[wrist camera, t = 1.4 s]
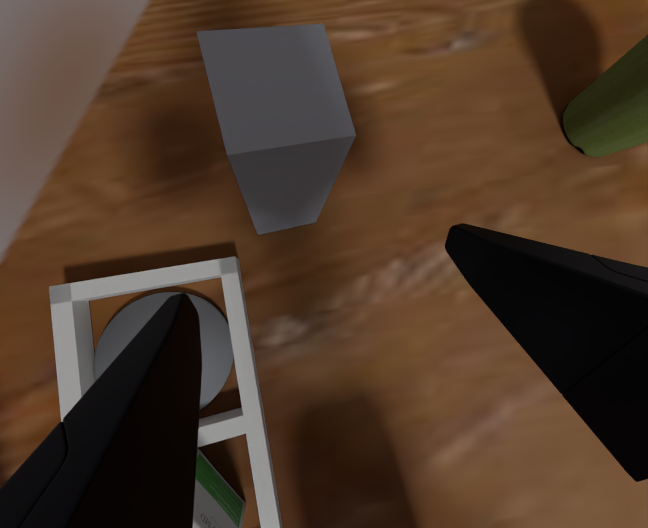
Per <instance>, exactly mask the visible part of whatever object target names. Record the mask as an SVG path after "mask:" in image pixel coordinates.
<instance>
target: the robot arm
mask: <svg viewBox="0 0 648 528" xmlns="http://www.w3.org/2000/svg"><path fill="white" fill-rule="evenodd" d="M445 249H446V251H447V253H448V254H449V256H450V257H451V259H452V260H453V262H454V263H455V265H456V266H457V268H458V269H459V270H460V272H461V273H462V275H463V276H464V278H465V279H466V281H467V282H468V283H469V285H470V286H471V287H472V288H473V289H474V291H475V292H476V293H477V294H478V295H479V297H480V298H481V299H482V300H483V301H484V303H485V304H486V305H487V306H488V307H489V309H490V310H491V311H492V312H493V313H494V314H495V316H496V317H497V318H498V319H499V320H500V322H501V323H502V324H503V325H504V326H505V328H506V329H507V330H508V331H509V332H510V333H511V335H512V336H513V337H514V338H515V339H516V341H517V342H518V343H519V344H520V345H521V347H522V348H523V349H524V350H525V351H526V353H527V354H528V355H529V356H530V357H531V358H532V360H533V361H534V362H535V363H536V364H537V366H538V367H539V368H540V369H541V370H542V372H543V373H544V374H545V375H546V376H547V377H548V379H549V380H550V381H551V382H552V383H553V385H554V386H555V387H556V388H557V389H558V391H559V392H560V393H561V394H562V396H563V397H564V398H565V399H566V400H567V402H568V403H569V404H570V405H571V406H572V408H573V409H574V410H575V411H576V412H577V414H578V415H579V416H580V417H581V418H582V420H583V421H584V422H585V423H586V424H587V425H588V427H589V428H590V429H591V430H592V431H593V433H594V434H595V435H596V436H597V437H598V439H599V440H600V441H601V442H602V443H603V445H604V446H605V447H606V448H607V449H608V450H609V452H610V453H611V454H612V455H613V456H614V458H615V459H616V460H617V461H618V462H619V464H620V465H621V466H622V467H623V468H624V470H625V471H626V472H627V473H628V474H629V475H630V476H631V477H632V478H633V479H634V480H635V481H636V482H639V481H642V480H646V479H648V268H647V267H643V266H638V265H633V264H629V263H625V262H620V261H616V260H612V259H608V258H604V257H599V256H595V255H590V254H587V253H583V252H579V251H575V250H571V249H567V248H562V247H558V246H554V245H550V244H546V243H542V242H538V241H534V240H530V239H526V238H521V237H517V236H513V235H509V234H505V233H501V232H497V231H493V230H489V229H485V228H480V227H476V226H472V225H468V224H464V223H462V224H457V225H454V226H452V227H451V228H450V230H449V233H448V236H447V240H446V243H445ZM201 380H202V350H201V336H200V321H199V314H198V311H197V309H196V308H195V306H194V304H193V303H192V301H191V299H190V298H189V296H188V295H187V294H186V293H180V294H176V295H172V296H170V297H169V298H168V299H167V300H166V301H165V302H164V303H163V304H162V306H161V307H160V308H159V309H158V310H157V311H156V312H155V314H154V315H153V316H152V317H151V318H150V319H149V321H148V322H147V323H146V324H145V325H144V326H143V327H142V329H141V330H140V331H139V332H138V333H137V334H136V335H135V337H134V338H133V339H132V340H131V341H130V342H129V343H128V345H127V346H126V347H125V348H124V349H123V350H122V351H121V353H120V354H119V355H118V356H117V357H116V358H115V359H114V361H113V362H112V363H111V364H110V365H109V366H108V367H107V369H106V370H105V371H104V372H103V373H102V374H101V376H100V377H99V378H98V379H97V380H96V381H95V382H94V384H93V385H92V386H91V387H90V388H89V389H88V390H87V392H86V393H85V394H84V395H83V396H82V397H81V398H80V400H79V401H78V402H77V403H76V404H75V405H74V406H73V408H72V409H71V410H70V411H69V412H68V413H67V414H66V416H65V417H64V418H63V422H60V423H58V425H57V426H56V427H55V428H54V429H53V430H52V431H51V433H50V434H49V435H48V436H47V437H46V438H45V439H44V441H43V442H42V443H41V444H40V445H39V446H38V447H37V448H36V450H35V451H34V452H33V453H32V454H31V455H30V456H29V457H28V458H27V460H26V461H25V462H24V463H23V464H22V465H21V466H20V467H19V468H18V470H17V471H16V472H15V473H14V474H13V475H12V476H11V477H10V478H9V479H8V480H7V481H6V483H5V484H4V485H3V486H2V487H1V488H0V528H193V513H194V496H195V480H196V463H197V446H198V430H199V413H200V397H201Z"/></svg>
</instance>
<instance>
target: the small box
mask: <svg viewBox="0 0 648 528" xmlns="http://www.w3.org/2000/svg"><path fill="white" fill-rule="evenodd" d="M245 507H246V503H245V501H244V500H243V499H242V498H241V497H240V496H239V495H238V494H237V493H236V492H235V491H234V490H233V488H232V487H231V486H230V485H229V484H228V483H227V482H226V481H225V479H224V478H223V477H222V476H221V475H220V474H219V472H218V471H217V470H216V469H215V468H214V467H213V465H212V464H211V463H210V462H209V461H208V460H207V458H206V457H205V456H204V455H203V454H202V452H201V451H200V450H199V449H198V448H197V463H196V480H195V496H194V513H193V528H242V525H243V519H244V513H245Z"/></svg>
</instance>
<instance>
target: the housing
mask: <svg viewBox="0 0 648 528" xmlns="http://www.w3.org/2000/svg"><path fill="white" fill-rule="evenodd" d="M220 277H221V278H222V285H223V291H224V297H225V304H226V310H227V316H228V323H229V324H228V323H227V321H226V319H225V317H224V316H223V315H222V314H221V312H220V311H219V310H218V309H217V308H216V307H215V306H213V305H212V304H211V303H209V302H208V301H206V300H204V299H202V298H200V297H198V296H195V295H192V294H188V293H186V294H187V295H188V296H189V298H190V299H191V301H192V303H193V304H194V306H195V308H196V309H197V311H198V314H199V321H200V336H201V350H202V380H201V397H200V410H201V409H202V408H204V407H205V406H206V405H207V404H209V403H210V402H211V401H212V400H213V399H214V398H215V396H216V395H217V394H218V393H219V391H220V390H221V389H222V387H223V385H224V384H225V382H226V380H227V378H228V376H229V374H230V371H231V368H232V364H233V359H234V361H235V367H236V373H237V380H238V386H239V392H240V399H241V405H242V407H241V408H238V409H234V410H230V411H227V412H223V413H219V414H216V415H212V416H208V417H205V418H201V419H199V430H198V446H197V448H198V447H201V446H204V445H208V444H211V443H215V442H218V441H221V440H225V439H228V438H232V437H235V436H239V435H242V434H245V433H246V436H247V443H248V449H249V455H250V462H251V468H252V474H253V481H254V487H255V493H256V500H257V506H258V512H259V519H260V525H261V528H283V524H282V518H281V512H280V506H279V500H278V494H277V488H276V482H275V476H274V470H273V464H272V458H271V452H270V446H269V440H268V434H267V428H266V422H265V415H264V409H263V403H262V397H261V391H260V385H259V379H258V373H257V367H256V361H255V355H254V349H253V343H252V337H251V331H250V325H249V319H248V313H247V307H246V301H245V295H244V289H243V283H242V277H241V271H240V265H239V259H238V258H237V257H235V256H234V257H228V258H222V259H216V260H209V261H203V262H197V263H191V264H185V265H179V266H173V267H166V268H160V269H154V270H148V271H142V272H136V273H129V274H123V275H117V276H111V277H105V278H99V279H93V280H86V281H80V282H74V283H68V284H62V285H56V286H50V287H49V293H50V304H51V314H52V325H53V336H54V347H55V358H56V368H57V379H58V390H59V401H60V411H61V422H63V418H64V417H65V416H66V414H67V413H68V412H69V411H70V410H71V409H72V408H73V406H74V405H75V404H76V403H77V402H78V401H79V400H80V398H81V397H82V396H83V395H84V394H85V393H86V392H87V390H88V389H89V388H90V387H91V386H92V385H93V384H94V382H95V381H96V380H97V379H98V378H99V377H100V376H101V374H102V373H103V372H104V371H105V370H106V369H107V367H108V366H109V365H110V364H111V363H112V362H113V361H114V359H115V358H116V357H117V356H118V355H119V354H120V353H121V351H122V350H123V349H124V348H125V347H126V346H127V345H128V343H129V342H130V341H131V340H132V339H133V338H134V337H135V335H136V334H137V333H138V332H139V331H140V330H141V329H142V327H143V326H144V325H145V324H146V323H147V322H148V321H149V319H150V318H151V317H152V316H153V315H154V314H155V312H156V311H157V310H158V309H159V308H160V307H161V306H162V304H163V303H164V302H165V301H166V300H167V299H168V298H169V297H170V296H172V295H176V294H180V293H181V292H164V293H157V294H153V295H149V296H146V297H143V298H141V299H139V300H137V301H135V302H133V303H131V304H130V305H128V306H127V307H125V308H124V309H123V310H122V311H120V312H119V313H118V314H117V315H116V316H115V317H114V318H113V319H112V320H111V322H110V323H109V324H108V326H107V327H106V328H105V330H104V332H103V334H102V336H101V338H100V340H99V343H98V345H97V349H96V353H95V354H94V345H93V335H92V326H91V317H90V307H89V300H95V299H100V298H106V297H112V296H118V295H123V294H129V293H135V292H140V291H146V290H152V289H157V288H163V287H169V286H174V285H180V284H186V283H191V282H197V281H203V280H208V279H214V278H220Z"/></svg>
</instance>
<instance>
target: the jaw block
mask: <svg viewBox="0 0 648 528" xmlns="http://www.w3.org/2000/svg"><path fill="white" fill-rule="evenodd" d="M196 32H197V36H198V40H199V44H200V48H201V52H202V56H203V60H204V64H205V68H206V72H207V76H208V80H209V85H210V89H211V93H212V97H213V101H214V105H215V109H216V113H217V117H218V121H219V125H220V129H221V133H222V137H223V141H224V145H225V149H226V153H227V157H228V159H229V162H230V164H231V167H232V169H233V172H234V175H235V177H236V180H237V182H238V185H239V187H240V190H241V193H242V195H243V198H244V200H245V203H246V205H247V208H248V211H249V213H250V216H251V218H252V221H253V223H254V226H255V229H256V231H257V234H258V235H261V234H265V233H270V232H274V231H279V230H284V229H288V228H293V227H297V226H302V225H306V224H311V223H316V221H317V219H318V217H319V215H320V212H321V210H322V208H323V206H324V204H325V202H326V199H327V197H328V195H329V193H330V191H331V189H332V186H333V184H334V182H335V180H336V178H337V176H338V174H339V171H340V169H341V167H342V165H343V163H344V161H345V158H346V156H347V154H348V152H349V150H350V148H351V145H352V143H353V141H354V139H355V137H356V133H355V130H354V126H353V123H352V119H351V116H350V113H349V109H348V106H347V102H346V99H345V95H344V92H343V89H342V85H341V82H340V78H339V75H338V72H337V68H336V65H335V61H334V58H333V55H332V51H331V48H330V44H329V41H328V38H327V34H326V31H325V27H324V24H311V25H294V26H277V27H261V28H244V29H227V30H211V31H196Z"/></svg>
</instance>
